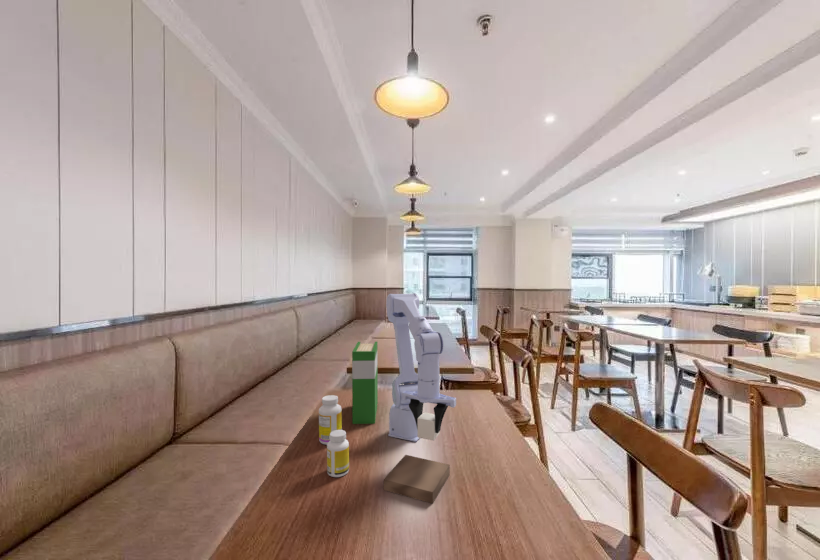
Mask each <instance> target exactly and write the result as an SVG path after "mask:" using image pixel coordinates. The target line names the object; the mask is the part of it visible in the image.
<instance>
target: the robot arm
mask: <svg viewBox="0 0 820 560" xmlns="http://www.w3.org/2000/svg"><path fill="white" fill-rule="evenodd" d="M385 303H386V306H385V308H386V316H387V320H388V322H390V323H392V325H393V329H394V336H395V346H396V353H397V362H398V369H399V371H398V372H399V375H397V376H396V377H395V378H394V379H393V380H392V384H391V398H392V402H393V404H392V405H391V407H390V410H389V417H388V419H389V420H388V421H389V422H388V430H389V431H388V435H387V436H388V437H391V438H396V439H402V440H404V441H405V440H406V441H411V442H418V441H419V440H420V438H418V417H419V416H420V415H422V414H423V413H424V412H423V411H424V409H423V408H424V404H428V403H429V404H435V405H434V407H433V412H434V413H433V414H435V433H439V431H440V432H441V427H442V423H443V419H444V416H445V414H446V411H447V409H448V407H450V408H455V407H456V406H457V397H453V396H450V395H447V394H443V393H440V355H441V354H442V353H443V351H444V340H443V336H442V334H441V332H440V331H436V330H433V328H432V326H431V324H430V323H429V321H428V320H427V318H426V317H425V316H422V315H421V312H420V310H419V309H420V298H419V296H418V295H417V293H416V292H414V293H389V294H388V295H387V296H386V301H385ZM411 336H412V338H413V339H414V342H413V343H414V345H413V346H414V351H415V361H417V372H416V371H415V364H414V363H415V362H414V356H413V355H414V354H413V349H412V341H411V340H412V339H411ZM439 434H440V433H439Z"/></svg>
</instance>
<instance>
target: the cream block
mask: <svg viewBox="0 0 820 560" xmlns="http://www.w3.org/2000/svg"><path fill="white" fill-rule="evenodd" d="M440 432H441V430H440V431H439V433H435V414H434V413H431V412H423V413H422V415H420V416H419V417H418V438H419V439H424V440H428V441H429V440H430V441H435V440H436V439H437V437H438V436H439V435H440Z"/></svg>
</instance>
